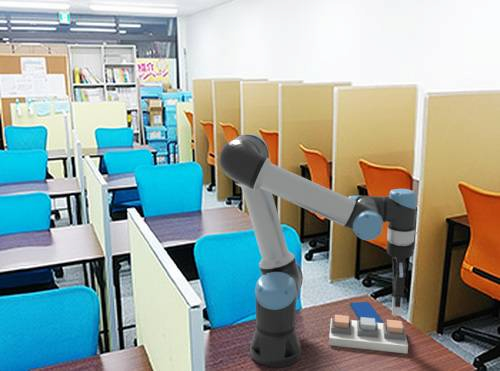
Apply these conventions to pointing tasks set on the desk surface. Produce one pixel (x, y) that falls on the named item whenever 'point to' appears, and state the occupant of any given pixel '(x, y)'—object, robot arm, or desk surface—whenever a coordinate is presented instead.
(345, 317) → the left key
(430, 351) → the desk surface
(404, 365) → the desk surface
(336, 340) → the white button panel
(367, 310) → the smartphone
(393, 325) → the right key
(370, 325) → the middle key
